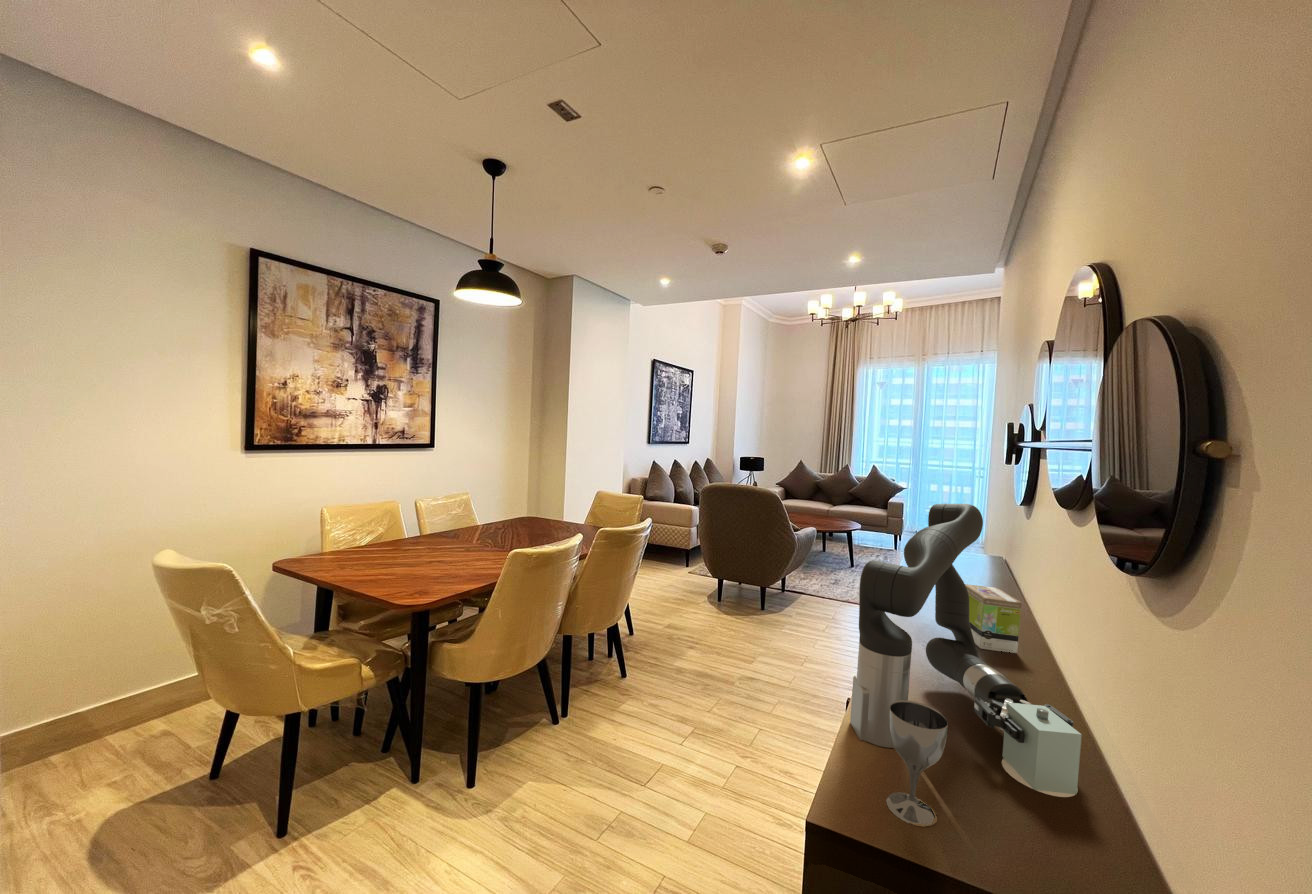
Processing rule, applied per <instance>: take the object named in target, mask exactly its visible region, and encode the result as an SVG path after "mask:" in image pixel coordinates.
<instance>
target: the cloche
mask: <svg viewBox="0 0 1312 894" xmlns="http://www.w3.org/2000/svg"><path fill="white" fill-rule="evenodd" d="M1006 709H1007V710H1008V713H1009V714H1010V715H1009V719H1012V720H1013V721H1014V722H1015V723H1016V724H1017V725H1018V726H1019V727H1021V728H1022V729H1023V730H1024V732H1025V737H1024V743H1018V742H1017V741H1016V740H1015V739H1014V738H1012V737H1011V736H1010V735H1009V734H1008V733H1007V732H1006V731H1003V742H1002V743H1003V744H1002V759H1003V758H1004V759H1005V760H1006V761H1007V762H1008V763H1009V764H1010V765H1011V766H1012V767H1013V768H1014V769H1015V770H1016V771H1017V772H1018V773H1019V774H1020V775H1021V777H1022V778H1023V779H1024V780H1025V781H1026V782H1027V783H1028V784H1029V785H1030V786H1031V787H1032V788H1033V789H1032V788H1031V789H1032V790H1034V791H1037V790H1040V791H1050V792H1059V793H1068V794H1076V795H1078V794H1077V793H1078V791H1077V788H1078V783H1079V782H1078V781H1079V771H1080V760H1081V758H1080V757H1081V747H1082V737H1083V736H1082V733H1080V731H1078V730H1077V729H1075V728H1074V726H1073V727H1072V726H1070V725H1069V724H1068V723H1066V722H1065V721H1064V720H1063V719H1061V718H1060V717H1059V716H1057V715H1056V714H1055V713H1054V712H1052V711H1051V710H1050V709H1048V708H1047V707H1046V706H1045V705H1040V704H1033V705H1030V704H1019V703H1008V702H1007V703H1006Z"/></svg>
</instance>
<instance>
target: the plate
mask: <svg viewBox="0 0 1312 894" xmlns="http://www.w3.org/2000/svg"><path fill="white" fill-rule="evenodd" d="M1001 765H1002V768H1003V769H1004V771H1005V772H1006V773H1008V775H1009V776H1011V777H1012V778H1013V779H1015V780H1016V781H1017V782H1018V783H1021V784H1022V785H1023V786H1025V787H1028V788H1030V789H1031V790H1034V789H1033V788H1032V787H1031V786H1030V785H1029V784H1028V783H1027V782H1026V781H1025V780H1024V779H1023V778H1022V777H1021V775H1020V774H1019V773H1018V772H1017V771H1016V770H1015V769H1014V768H1013V767H1012V766H1011V765H1010V764H1009V763H1008V762H1007V761H1006V760H1005V759H1004V758H1003V757H1002V759H1001ZM1078 790H1079V789H1078V787H1077V792H1079V791H1078ZM1036 791H1037V792H1039V793H1043V794H1045V795H1049V796H1053V797H1059V798H1070V797H1074V796H1075V795H1077V794H1068V793H1059V792H1050V791H1040V790H1036Z"/></svg>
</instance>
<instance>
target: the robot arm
mask: <svg viewBox="0 0 1312 894" xmlns="http://www.w3.org/2000/svg"><path fill="white" fill-rule="evenodd" d="M927 517H928V518H927V519H928V520H927V525H928V526H927V527H924V528H922V529H920V530H919V531H918V532H916V533H915V534H913V536H911V537H910V538H909V540H908V541H907V542H906V543H905V546H904V547H903V548H904V549H903V557H904V561H905V564H906V566H904V565H899V564H895V563H889V562H885V561H881V560H874V559H873V560H869V561H868V562H866V564H865V565H864V566H863V568H862V571H861V575H860V578H859V579H860V580H859V588H858V589H859V593H858V594H859V600H858V603H859V604H858V605H859V608H858V609H859V611H858V631H859V642H858V653H857V654H858V655H857V657H858V658H857V671H856V675H854V676H852V677H853V678H852V686H851V687H852V691H851V702H850V703H851V704H850V705H851V706H850V718H849V719H850V720H849V723H850V725H851V727H852V729H853V730H854V732H855V735H856V737H857V738H858V740H860V741H865V742H868V743H871V744H873V745H875V746H878V747H883V748H889V749H890V748H891V749H892V748H893V749H895V748H894V746H893V743H892V740H891V735H890V725H889V713H890V705H891V704H892V703H893V702H895V701H900V700H906V701H909V690H910V678H911V677H910V675H911V664H912V650H913V649H912V648H913V639H912V636H911V635H910V633H908V632H907V631H906V630H905V629H903V628H902V627H900V626H899V625H897V624H896V623H895V622H894V621H892V620H891V619H890V618H889V616H888V615H887V614H891V615H895V616H899V617H904V618H912V617H914V616H916V615H917V614H919V612H920V611H921V610H922V609H923V606H924V605H925V603H926V602H927V600H928V598H929V596H930V595H931V593H932V590H933V588H935V590H934V591H935V598H934V599H935V601H934V602H935V605H934V606H935V609H934V611H935V614H934V617H935V622H936V624H937V625H938V626H940V627H942V628H944V629H946V630H949V631H951V632H952V634H953V637H954V639H950V638H944V637H934V638H931V639H930V640H929V641H928V642H927V643H926V646H925V655H926V657H927V658H926V659H927V660H928V663H929V664H930V666H932V667H933V668H934V669H935V670H936V671H938V672H939V673H940V674H942V675H944V676H945V677H948V678H949V679H951V680H953V681H956V682H957V683H959V685H960V686H961V687H963V688H964V689H965V690H966V691H967V692H968V694H969V695H970V696H971V697H972V699H973V700H974V703H973V704H974V705H973V712H974V713H975V714H976V715H977V716H978V717H979V718H980V720H982V721H983V723H984V724H985V725H986V726H987V727H989V728H991V729H995V727H998V728H999V730H1001V731H1003V732H1004V731H1006V732H1007V733H1008V734H1009V735H1010V736H1011V737H1012V738H1014V739H1015V740H1016V741H1017V742H1018V743H1024V737H1025V732H1024V730H1023V729H1022V728H1021V727H1019V726H1018V725H1017V724H1016V723H1015V722H1014V721H1013V720H1012V719H1009V715H1010V714H1009V713H1008V710H1007V709H1006V703H1007V702H1008V703H1019V704H1030V705H1034V704H1033V703H1031V702H1029V700H1028V698H1027V697H1026V695H1025V693H1024V692H1023V690H1022V689H1021V688H1020V687H1019V686H1017V685H1016V684H1014V683H1013V682H1012V681H1011V680H1009V679H1008V678H1007V676H1005V675H1003V674H1002V673H1001V672H999V670H997V669H995V668H993V667H991V666H990V665H988V664H987V663H986V662H985V661H983V660H982V659H981V658H980V657H979V651H978V649H977V645H976V644H975V642H974V638H973V634H972V631H971V627H970V622H969V594H968V590H967V588H966V585H965V584H966V583H965V582H964V580H963V578H962V577H961V575H960V574H959V572H958V571H957V569H956V568H955V566H954V564H953V563H954V562H955V561H956V559H957V558H958V556H960V554H961V553H962V552H964V551H965V550H966V548H968V547H970V546H971V545H972V544H973V543H975V542H976V541H977V540H978V539H979V537H980V536H981V533H982V530H983V526H984V520H983V515H982V513H981V511H980V509H978V507H976V505H973V504H969V503H937V504H933V505H931V507H930V509H929V511H928V515H927ZM886 613H887V614H886ZM1044 706H1046V707H1047V708H1048V709H1050V710H1051V711H1052V712H1054V713H1055V714H1056V715H1057V716H1059V717H1060V718H1061V719H1063V720H1064V721H1065V722H1066V723H1068V724H1069V725H1070V726H1072V727H1073V728H1074V720H1072V719H1071V718H1070V717H1068V716H1067V715H1066V714H1064V713H1062V712H1061V711H1059V710H1058V709H1057V708H1056V707H1054V706H1052V705H1050V704H1047V703H1046V704H1044Z"/></svg>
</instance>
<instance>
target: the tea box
mask: <svg viewBox="0 0 1312 894" xmlns="http://www.w3.org/2000/svg"><path fill="white" fill-rule="evenodd" d="M964 584H965V585H966V588H967V590H968V594H969V622H970V627H971V631H972V634H973V638H974V642H975V645H976V647H978V648H979V649H982V650H989V651H995V652H1001V651H1002V652H1003V653H1009V652H1010V653H1011V654H1017V653H1018V647H1019V635H1020V624H1021V614H1022V601H1020V600H1018V599H1016V598H1015V597H1013V596H1011V595H1010V594H1008V593H1006V592H1005V591H1004V590H1001V589H1000V588H998V587H995V586H993V587H992V586H983V585H977V584H976V585H975V584H968V583H967V584H966V583H964ZM1002 652H1001V653H1002ZM1010 653H1009V654H1010Z"/></svg>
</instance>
